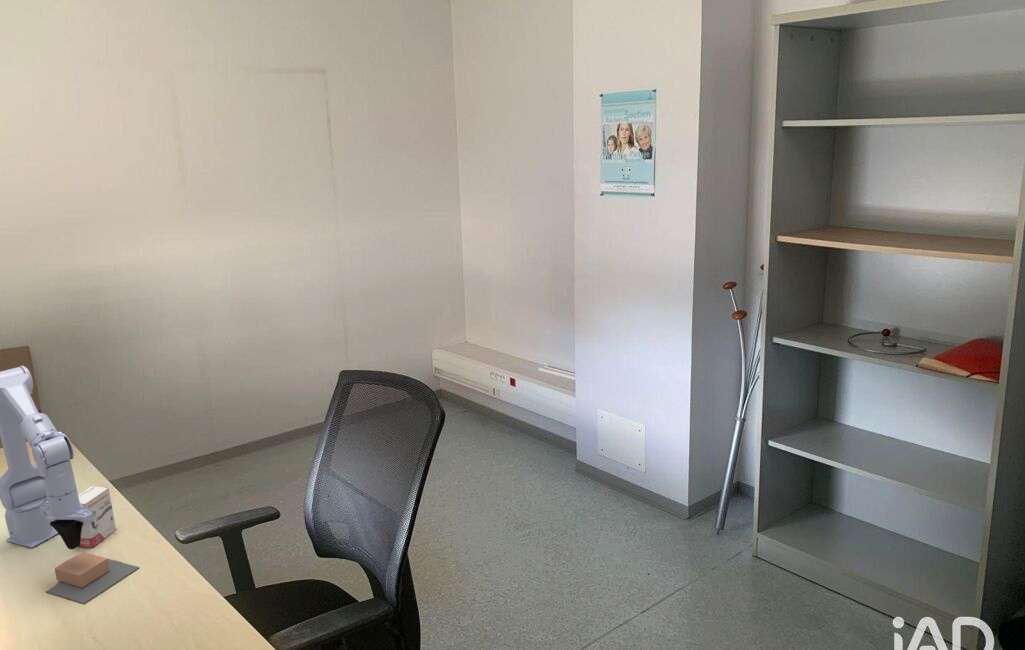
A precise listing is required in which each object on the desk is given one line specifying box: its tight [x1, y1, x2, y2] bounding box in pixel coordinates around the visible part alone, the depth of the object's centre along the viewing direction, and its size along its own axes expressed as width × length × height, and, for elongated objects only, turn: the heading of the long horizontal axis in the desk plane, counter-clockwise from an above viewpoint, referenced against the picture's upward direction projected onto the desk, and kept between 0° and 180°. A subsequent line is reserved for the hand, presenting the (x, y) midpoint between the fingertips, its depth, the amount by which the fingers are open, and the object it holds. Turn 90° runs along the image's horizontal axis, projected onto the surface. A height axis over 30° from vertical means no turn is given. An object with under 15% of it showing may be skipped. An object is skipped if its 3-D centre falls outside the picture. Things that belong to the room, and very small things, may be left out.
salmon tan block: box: [53, 551, 110, 588], centre depth 174 cm, size 3×7×8 cm
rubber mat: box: [45, 558, 140, 605], centre depth 173 cm, size 12×14×1 cm
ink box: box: [78, 485, 117, 548], centre depth 189 cm, size 9×5×12 cm, turn 168°
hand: (74, 546), depth 172 cm, fingers closed
